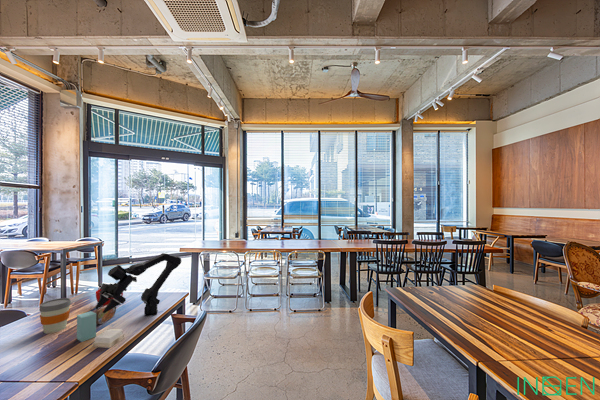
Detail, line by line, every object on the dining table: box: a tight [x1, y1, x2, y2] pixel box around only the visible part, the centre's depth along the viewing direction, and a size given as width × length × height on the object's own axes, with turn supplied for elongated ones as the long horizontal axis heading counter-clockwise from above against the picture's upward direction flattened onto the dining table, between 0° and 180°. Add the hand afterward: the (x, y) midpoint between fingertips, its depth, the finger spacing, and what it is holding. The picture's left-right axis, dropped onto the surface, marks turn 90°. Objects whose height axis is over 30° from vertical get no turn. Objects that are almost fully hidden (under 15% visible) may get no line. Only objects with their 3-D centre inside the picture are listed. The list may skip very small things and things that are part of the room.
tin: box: [95, 305, 117, 325], centre depth 150 cm, size 15×3×8 cm, turn 2°
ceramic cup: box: [95, 288, 124, 307], centre depth 175 cm, size 13×17×10 cm
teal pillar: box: [76, 310, 97, 343], centre depth 131 cm, size 6×6×12 cm
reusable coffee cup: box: [38, 297, 72, 334], centre depth 140 cm, size 13×13×15 cm
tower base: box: [92, 333, 125, 349], centre depth 127 cm, size 9×9×2 cm
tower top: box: [94, 328, 124, 343], centre depth 127 cm, size 8×8×2 cm
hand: (99, 310), depth 136 cm, fingers open, 9 cm apart
